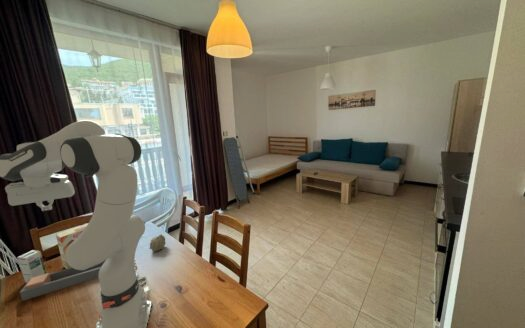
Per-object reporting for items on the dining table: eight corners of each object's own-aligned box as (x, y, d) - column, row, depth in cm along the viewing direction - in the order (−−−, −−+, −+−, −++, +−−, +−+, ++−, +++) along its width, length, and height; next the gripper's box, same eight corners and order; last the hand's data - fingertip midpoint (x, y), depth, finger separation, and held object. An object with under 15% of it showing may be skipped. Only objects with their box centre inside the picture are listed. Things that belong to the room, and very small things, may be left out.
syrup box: (33, 284, 100) (25, 257, 97) (24, 282, 101) (16, 256, 98) (47, 275, 106) (40, 250, 103) (39, 274, 107) (31, 249, 104)
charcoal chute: (112, 272, 106) (110, 265, 105) (22, 300, 90) (19, 292, 90) (114, 263, 114) (112, 255, 113) (31, 287, 98) (29, 279, 97)
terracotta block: (46, 289, 95) (43, 280, 94) (27, 294, 92) (25, 286, 91) (51, 280, 100) (49, 272, 99) (34, 285, 97) (31, 277, 96)
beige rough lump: (163, 248, 130) (165, 232, 131) (166, 252, 123) (169, 235, 124) (146, 249, 124) (149, 233, 125) (149, 254, 117) (152, 236, 119)
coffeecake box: (68, 271, 109) (59, 237, 105) (63, 266, 112) (54, 234, 108) (101, 255, 121) (94, 224, 117) (95, 251, 125) (89, 222, 121)
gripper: (-1, 186, 80) (9, 218, 83) (68, 177, 90) (74, 207, 93) (8, 182, 86) (17, 213, 89) (72, 174, 96) (78, 202, 98)
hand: (47, 209), depth 91 cm, fingers closed
